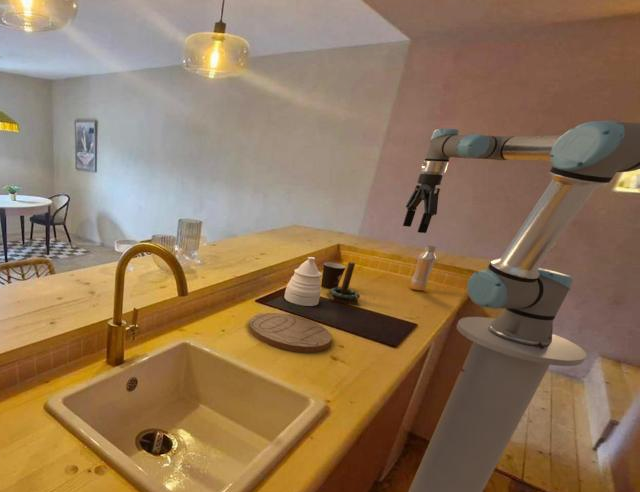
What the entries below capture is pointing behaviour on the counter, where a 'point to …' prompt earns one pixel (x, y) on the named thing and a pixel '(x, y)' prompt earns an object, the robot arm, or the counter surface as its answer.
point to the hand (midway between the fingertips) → (413, 229)
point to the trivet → (289, 332)
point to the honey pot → (304, 285)
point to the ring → (352, 296)
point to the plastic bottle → (423, 269)
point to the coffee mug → (332, 275)
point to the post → (345, 285)
